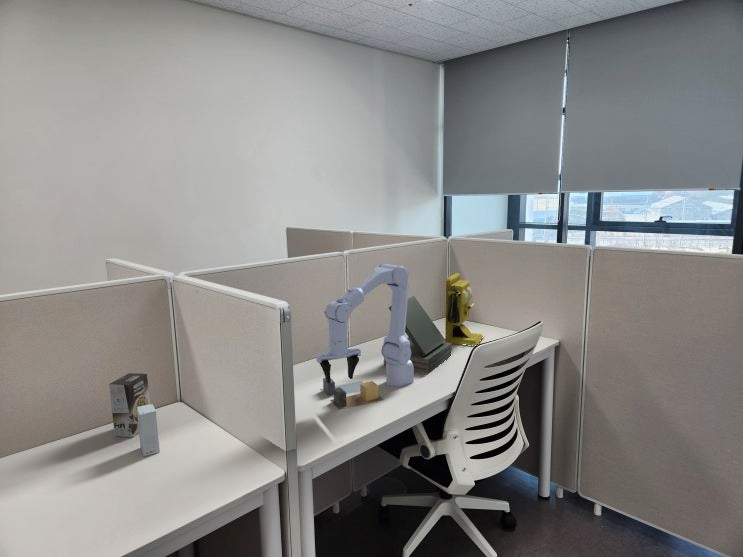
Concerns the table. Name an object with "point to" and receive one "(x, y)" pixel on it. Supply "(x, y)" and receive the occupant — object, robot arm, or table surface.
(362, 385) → the ochre block
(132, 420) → the coffee box
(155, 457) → the table surface
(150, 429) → the skincare box
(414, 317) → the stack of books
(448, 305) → the vintage telephone
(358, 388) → the grey strip
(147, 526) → the table surface
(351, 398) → the walnut strip
